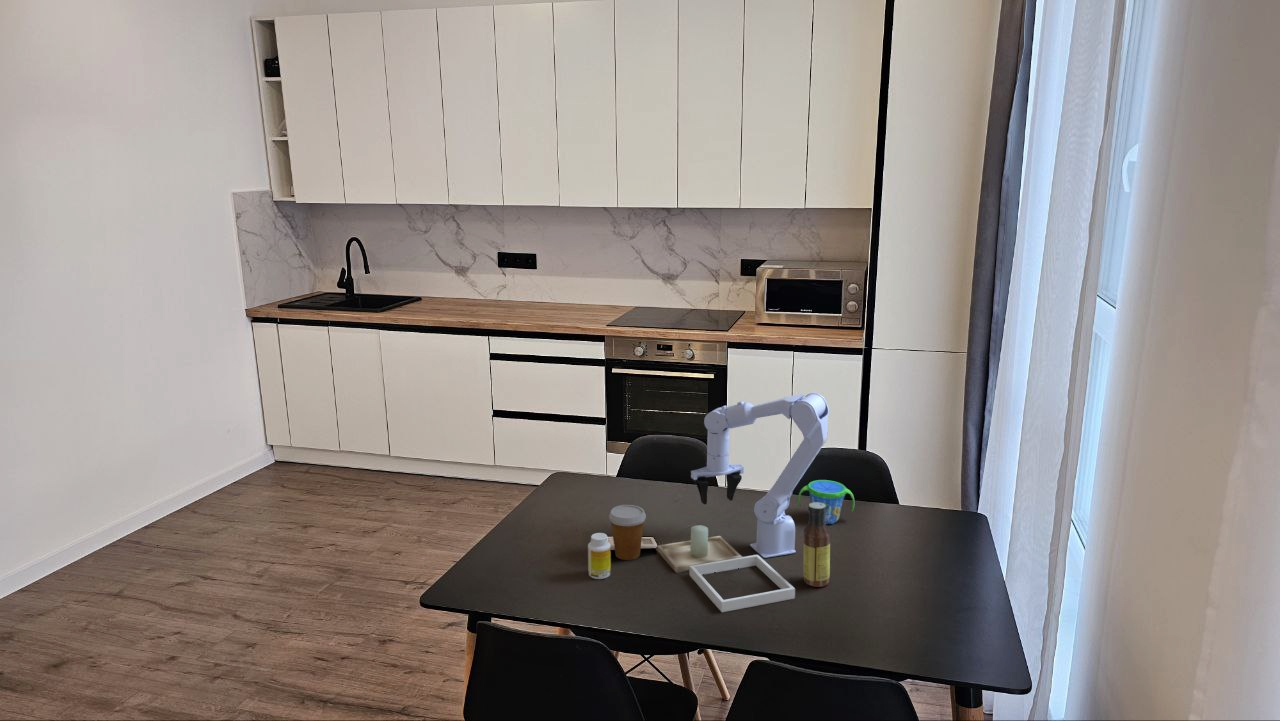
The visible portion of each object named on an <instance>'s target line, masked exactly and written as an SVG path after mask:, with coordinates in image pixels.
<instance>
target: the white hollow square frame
mask: <svg viewBox="0 0 1280 721" xmlns="http://www.w3.org/2000/svg"><path fill="white" fill-rule="evenodd" d="M755 566H756V567H757V568H758V569H759V570H760V571H761V572H762V573H763V574H765V576H767V578H769V579H770V580H771V581H772V582H773V583H774V584H775V585H776V586H777V587H778V588H780V589H775V590H771V591H765V592H760V593H754V594H749V595H744V596H739V597H733V598H727V599H723V598H722V596H721V595H720V594H719V593H718V592H717V591H716V590H715V588H714V587H713V586H712V585H711V584H710V583H709V582H708V581H707V580H706V578H705V577H704V575H708V574H715V573H714V572H716V573H719V572H726V571H733V570H738V568H739V569H743V568H749V567H755ZM703 574H704V575H703ZM689 577H690V578H691V579H692V580H693V582H695V583H696V585H697V586H698V587H699V589H700V590H702V591H703V593H704V594H705V595H706V596H707V597H708V598H709V600H710V601H711V602H712V604H714V605H715V606H716V607H717V609H718V610H719V611H720V612H721V613H726V612H731V611H736V610H743V609H746V608H752V607H757V606H763V605H767V604H773V603H778V602H782V601H788V600H789V601H790V600H794V599H795V598H796V588H795V587H794V586H793V585H792V584H791V583H789V581H787V580H786V579H785V578H784V577H783V576H782V575H781V574H780V573H779V572H777V570H775V569H774V568H773V566H771V565H770V564H768V563H767V561H766V560H765V559H764V558H763V557H762V556H761V555H760V554H753V555H747V556H746V555H745V556H742V557H740V558H734V559H728V560H722V561H716V562H710V563H704V564H698V565H692V566H690V571H689Z"/></svg>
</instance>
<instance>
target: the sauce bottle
mask: <svg viewBox="0 0 1280 721" xmlns="http://www.w3.org/2000/svg"><path fill="white" fill-rule="evenodd" d="M807 510H808V523H807V524H806V525H805V527H804V529H803V552H802V553H803V556H802V557H803V562H802V563H803V565H802V568H803V569H802V571H803V573H802V575H803V580H804V583H805V584H806V585H808V586H810V587H814V588H821V587H822V588H823V587H825V586H828V584H829V582H830V576H831V574H830V573H831V563H830V562H831V540H830V539H831V538H830V535H831V533H830V531H829V528H828V526H827V524H825V511H826V506H825V504H823V503H819V502H813V503H810V502H809V504H808V509H807Z"/></svg>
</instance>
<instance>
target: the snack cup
mask: <svg viewBox="0 0 1280 721" xmlns="http://www.w3.org/2000/svg"><path fill="white" fill-rule="evenodd" d="M806 491H808V492H809V504H810V503H813V502H819V503H823V504H825V506H826V511H825V524H826V525H834V524H835V523H837V522H838V521H839V519H840V515H841V512H842V508H843V503H844V499H845V497H846V494H849V495H850V497H851V500H852V501H851V502H852V503H851V508H850V511H851V512H854V509H855V505H856V504H855V503H856V502H855V497H854V494H853V492H852V491H851V490H850V489H848V488H847V487H846V486H845V485H844V484H843V483H841V482H838V481H834V480H827V479H818V480H817V479H816V480H813V481H810V482H809V483H808V484H807V485H805V486H803V487H802V488H801V489H800V491H799V493H798V496H797V501H798V508H801V507H802V506H801V499H802V493H804V492H806Z"/></svg>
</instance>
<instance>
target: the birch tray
mask: <svg viewBox="0 0 1280 721" xmlns="http://www.w3.org/2000/svg"><path fill="white" fill-rule="evenodd" d="M656 547H657V549H656V550H657V552H658V554H659V553H660V554H659V555H660V556H661V557H662V559H663V560H665V562H666V563H667V564H668V566H669V567H670V568H671V569H672V570H673V571H674V573H675V572H676V573H675V574H679V573H684V572H690V566H692V565H698V564H704V563H710V562H716V561H722V560H728V559H734V558H740V557H743V556H742V555H741V553H739V551H737V550H736V549H735V548H734V547H733V546H731V544H730V543H728V541H726V540H725V539H724V537H722V536H721V535H716V536H710V537H709V536H708V555H707V556H706V557H704V558H695V557H693V556H691V554H690V553H691V539H690V540H685V541H678V542H672V543H667V544H666V543H665V544H659V545H658V544H657V546H656Z"/></svg>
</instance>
